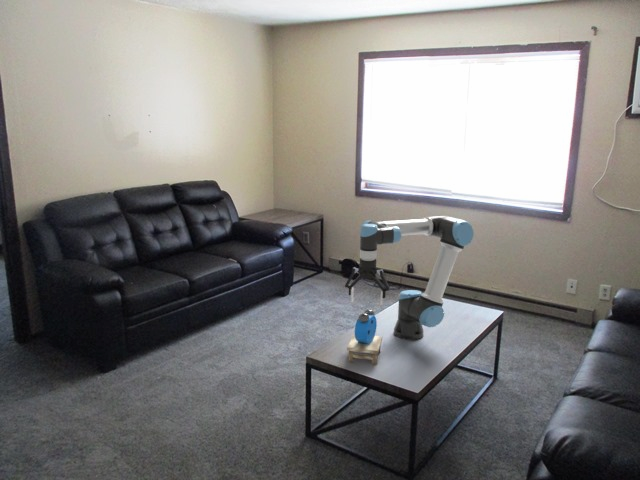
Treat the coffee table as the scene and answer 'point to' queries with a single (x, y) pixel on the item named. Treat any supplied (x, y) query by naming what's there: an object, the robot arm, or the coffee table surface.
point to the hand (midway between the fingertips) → (366, 303)
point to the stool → (364, 349)
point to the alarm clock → (365, 327)
